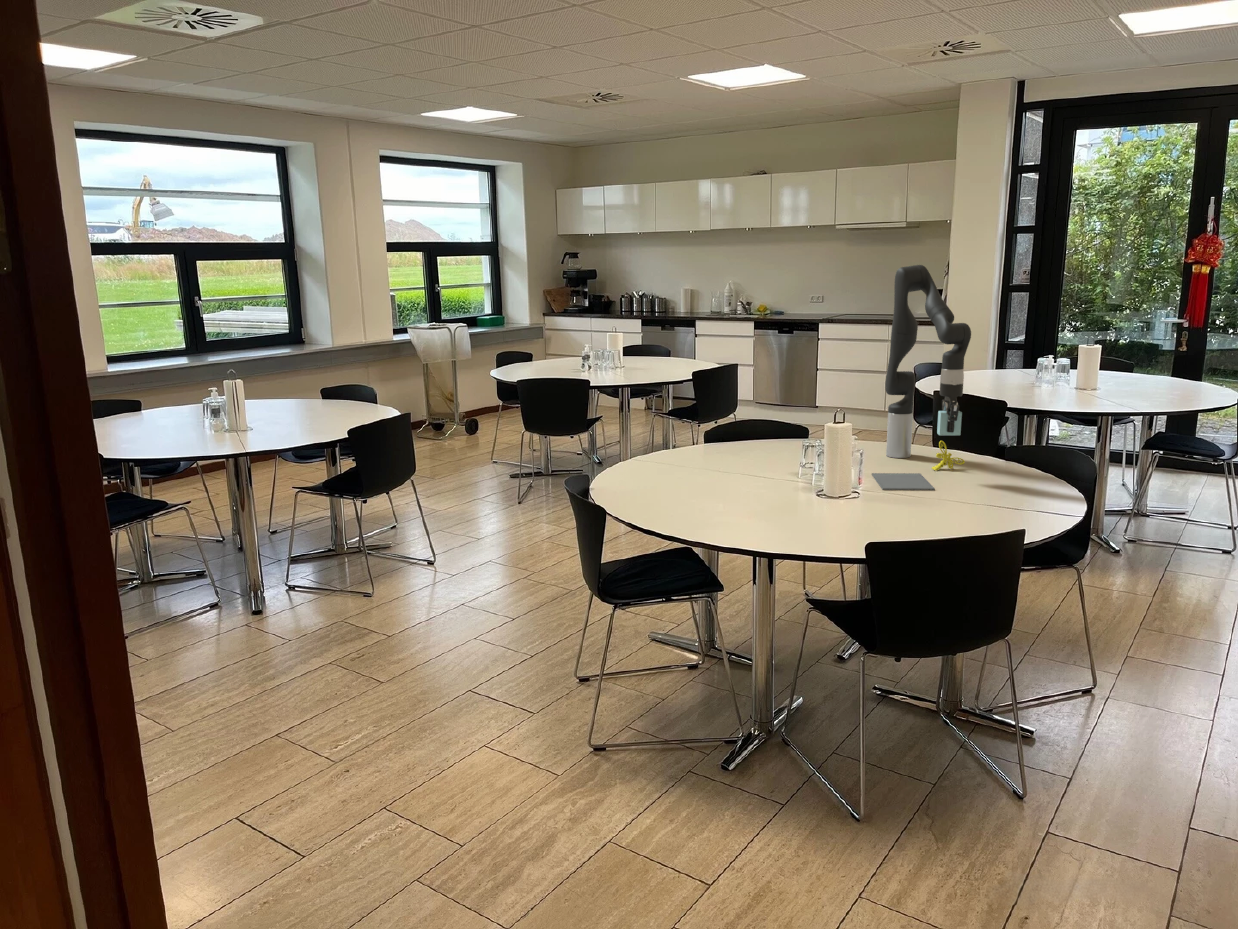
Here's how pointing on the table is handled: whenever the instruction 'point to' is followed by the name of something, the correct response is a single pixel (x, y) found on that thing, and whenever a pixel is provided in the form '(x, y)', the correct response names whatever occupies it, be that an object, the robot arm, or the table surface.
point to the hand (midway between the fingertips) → (948, 430)
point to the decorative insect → (946, 458)
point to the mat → (902, 481)
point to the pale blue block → (943, 424)
